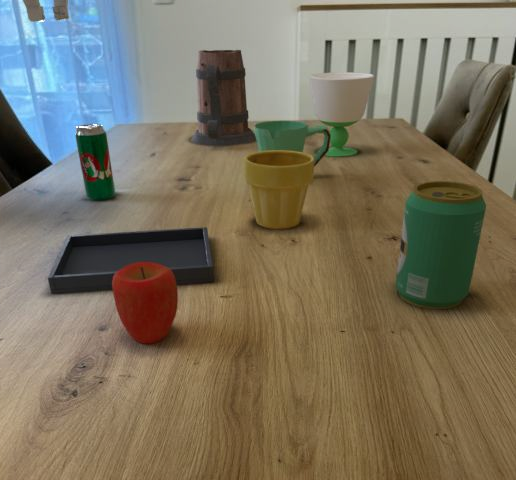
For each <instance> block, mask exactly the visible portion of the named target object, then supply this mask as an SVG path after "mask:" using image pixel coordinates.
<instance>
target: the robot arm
mask: <svg viewBox="0 0 516 480" xmlns="http://www.w3.org/2000/svg"><path fill="white" fill-rule="evenodd" d="M22 2H23V4H24V7H25V8H26V13H27V18H28V20H29V21H30V22H35V23H37V22H44V21H45V20H46V16H45V10H44V6H43V5H41V2H40V0H22ZM68 4H69V0H53V6H52V12H53V18H54V19H55V20H56V21H68V20H69V19H70V16H69V9H68V8H69V7H68V6H69V5H68Z"/></svg>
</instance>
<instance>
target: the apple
mask: <svg viewBox="0 0 516 480" xmlns="http://www.w3.org/2000/svg"><path fill="white" fill-rule="evenodd" d="M112 287H113V289H112V294H113V298H114V303H115V308H116V312H117V315H118V317H119V319H120V322H121V324H122V325H123V327H124V329H125V330H126V332H127V334H128V335H129V336H130V337H131V338H132V339H133V340H134V341H135V342H138V343H142V344H146V345H147V344H154V343H157V342H159V341H161V340H162V339H164V338H165V337H166V336H168V334H169V332H170V331H171V328H172V325H173V323H174V321H175V318H176V315H177V311H178V303H179V301H178V299H179V297H178V296H179V295H178V285H176V280H175V276H174V274H173V272H172V271H171V269H170V268H167V267H165V266H162V265H160V264H156V263H152V262H139V263H133V264H130V265H127V266H125V267H124V268H122V269H120V270H119V271H117V272H116V273H115V274H114V276H113V281H112Z"/></svg>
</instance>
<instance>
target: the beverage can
mask: <svg viewBox="0 0 516 480" xmlns="http://www.w3.org/2000/svg"><path fill="white" fill-rule="evenodd" d="M404 204H405V205H404V212H403V213H404V214H403V221H402V229H401V237H400V246H399V253H398V261H397V270H396V278H395V287H396V289H397V291H398V295H399V297H400V299H402V300H403V301H404V302H406V303H408V304H410V305H412V306H414V307H419V308H423V309H428V310H429V309H430V310H445V309H452V308H454V307H457V306H459V305H461V304H462V303H463V300H464V299H465V298H466V297H468V295H469V293H470V288H471V283H472V280H473V275H474V268H475V263H476V259H477V254H478V250H479V244H480V240H481V234H482V229H483V224H484V219H485V215H486V209H487V204H486V201H485V199H484V197H483V190H482V189H481V188H479V187H478V186H476V185H472V184H468V183H464V182H458V181H447V180H433V181H425V182H420V183H417V184H415V185H414V186H413V188H412V191H411V192H410V194H409V195H408V196H407V198H406V199H405V203H404Z"/></svg>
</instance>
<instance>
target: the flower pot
mask: <svg viewBox="0 0 516 480" xmlns="http://www.w3.org/2000/svg"><path fill="white" fill-rule="evenodd" d="M314 157H315V156H313V155H311V154H309V153H306V152H304V151H303V152H298V151H288V150H268V151H260V152H259V151H255V152H251V153H248V154H247V155H244V158H243V176H244V181H245V183H246V184H248V187H249V192H250V196H251V201H252V206H253V211H254V216H255V221H256V223H257V225H258V226H261V227H263V228H266V229H271V230H283V229H291V228H294V227H296V226H298V225H299V224H300V221H301V216H302V213H303V209H304V204H305V200H306V197H307V193H308V188H309V186H310V185H311V184H312V183H313V181H314V175H315V174H314V173H315V167H314Z"/></svg>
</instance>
